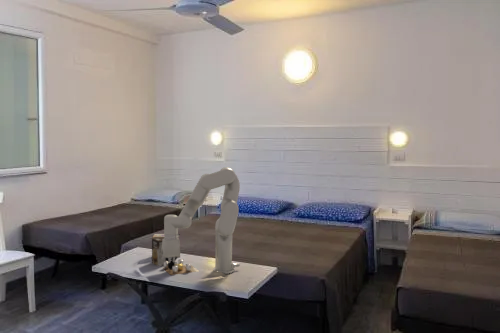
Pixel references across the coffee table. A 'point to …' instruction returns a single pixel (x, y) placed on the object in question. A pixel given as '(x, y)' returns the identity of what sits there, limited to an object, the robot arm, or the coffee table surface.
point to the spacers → (175, 267)
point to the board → (182, 270)
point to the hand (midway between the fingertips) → (170, 268)
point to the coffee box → (157, 251)
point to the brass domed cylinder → (180, 267)
